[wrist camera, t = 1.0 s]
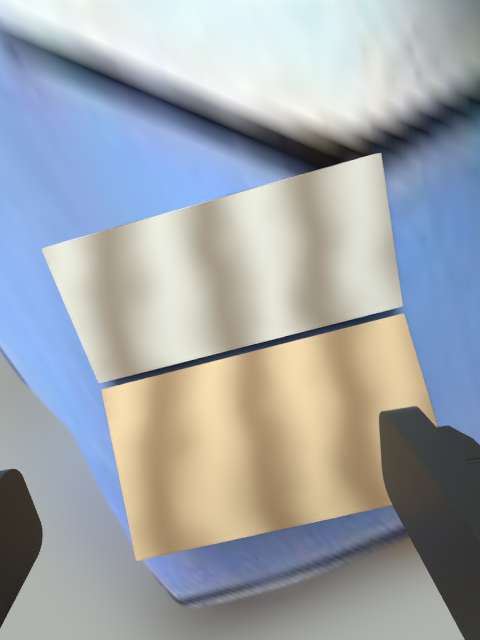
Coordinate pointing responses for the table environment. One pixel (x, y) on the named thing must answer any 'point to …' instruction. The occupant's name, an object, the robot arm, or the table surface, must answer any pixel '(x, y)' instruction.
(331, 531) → the table surface
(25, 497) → the robot arm
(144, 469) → the honey oak plank
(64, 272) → the grey-washed plank
